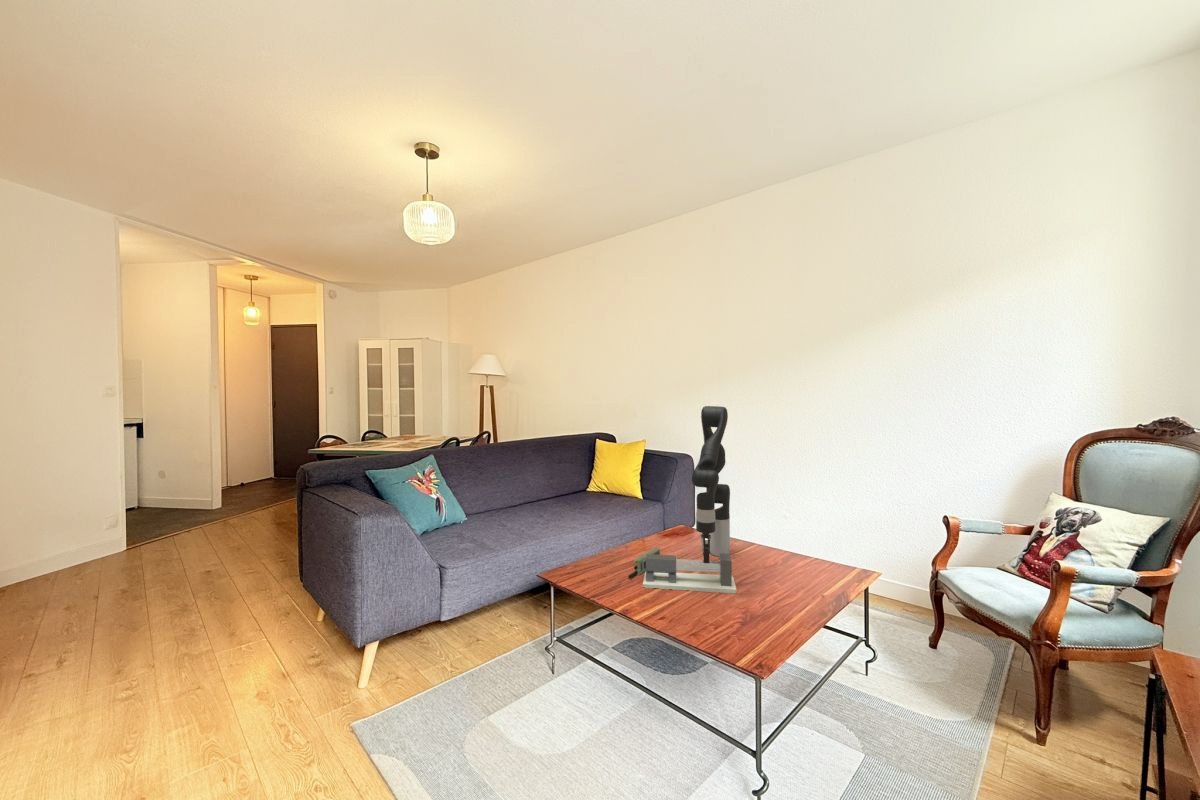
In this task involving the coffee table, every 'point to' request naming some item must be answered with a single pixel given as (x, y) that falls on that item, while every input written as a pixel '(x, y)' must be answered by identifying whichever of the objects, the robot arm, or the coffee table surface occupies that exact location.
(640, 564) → the handheld radio
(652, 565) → the sleeve
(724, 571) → the socket
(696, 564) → the silver metal bar
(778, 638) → the coffee table surface
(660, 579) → the base board
